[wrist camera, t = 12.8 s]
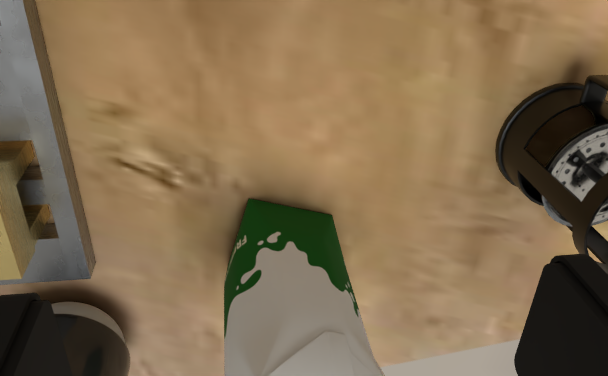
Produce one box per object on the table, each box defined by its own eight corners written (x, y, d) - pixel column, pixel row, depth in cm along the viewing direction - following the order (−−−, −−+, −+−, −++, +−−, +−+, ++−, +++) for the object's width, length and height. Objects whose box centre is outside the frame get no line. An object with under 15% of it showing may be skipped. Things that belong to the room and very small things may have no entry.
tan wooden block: (-18, 136, 36) (-65, 188, 30) (28, 134, 37) (-9, 186, 31) (9, 220, 40) (-28, 281, 34) (51, 218, 40) (21, 278, 34)
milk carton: (240, 185, 41) (253, 409, 24) (347, 208, 43) (428, 425, 26) (214, 272, 45) (209, 515, 28) (314, 288, 47) (365, 521, 30)
